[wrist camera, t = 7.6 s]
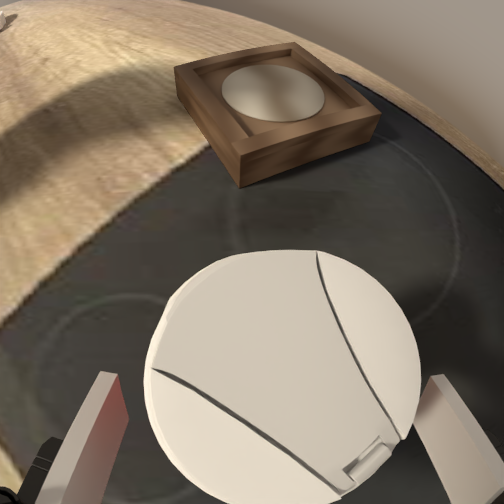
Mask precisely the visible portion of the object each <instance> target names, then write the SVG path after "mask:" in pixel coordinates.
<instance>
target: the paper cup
mask: <svg viewBox="0 0 504 504" xmlns="http://www.w3.org/2000/svg"><path fill="white" fill-rule="evenodd" d="M420 387H421V368H420V359H419V353H418V348H417V344H416V341H415V338H414V335H413V332H412V329H411V327H410V324H409V323H408V321H407V319H406V317H405V315H404V313H403V311H402V310H401V308H400V307H399V305H398V304H397V303H396V301H395V300H394V299H393V297H392V296H391V295H390V293H389V292H388V291H387V290H386V289H385V288H384V287H383V286H382V285H381V284H380V283H379V282H378V281H377V280H375V279H374V278H373V277H371V276H370V275H369V274H367V273H366V272H365V271H363V270H362V269H361V268H359V267H357V266H355V265H353V264H351V263H350V262H348V261H346V260H344V259H341V258H339V257H336V256H333V255H331V254H328V253H325V252H320V251H316V250H315V251H308V250H273V251H264V252H261V251H260V252H253V253H245V254H239V255H234V256H230V257H227V258H225V259H222V260H219V261H217V262H215V263H213V264H211V265H209V266H208V267H206V268H204V269H202V270H200V271H199V272H198V273H196V274H195V275H194V276H193V277H191V278H190V279H189V280H187V281H186V282H185V283H184V284H183V285H182V286H181V287H180V288H179V289H178V290H177V291H176V292H175V293H174V294H173V295H172V296H171V298H170V299H169V301H168V303H167V306H166V308H165V310H164V313H163V315H162V317H161V320H160V322H159V324H158V326H157V328H156V330H155V332H154V335H153V337H152V339H151V343H150V346H149V350H148V353H147V357H146V363H145V373H144V393H145V404H146V408H147V412H148V416H149V420H150V424H151V426H152V429H153V431H154V433H155V435H156V438H157V440H158V442H159V444H160V446H161V447H162V449H163V450H164V452H165V453H166V455H167V456H168V458H169V459H170V461H171V462H172V463H173V464H174V465H175V467H176V468H177V469H178V470H179V471H180V472H181V473H182V474H183V475H184V476H185V477H186V478H187V479H188V480H190V481H191V482H192V483H194V484H195V485H196V486H198V487H199V488H200V489H202V490H203V491H205V492H206V493H208V494H210V495H212V496H214V497H216V498H218V499H220V500H222V501H224V502H226V503H229V504H329V503H332V502H334V501H337V500H339V499H342V498H341V496H343V495H345V494H346V493H348V492H350V491H352V490H353V489H355V488H356V487H358V486H359V485H360V484H361V483H363V482H364V481H365V480H366V479H368V478H369V477H370V476H371V475H372V474H373V473H374V472H375V471H376V470H377V469H378V468H379V467H380V466H381V465H382V464H383V463H384V462H385V461H386V460H387V459H388V458H389V457H390V456H391V455H392V453H391V452H392V451H393V449H394V448H395V446H396V445H397V444H398V443H399V442H400V440H403V439H406V437H407V435H408V432H409V430H410V428H411V426H412V423H413V421H414V418H415V414H416V410H417V407H418V403H419V396H420Z"/></svg>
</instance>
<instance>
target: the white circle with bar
mask: <svg viewBox="0 0 504 504" xmlns="http://www.w3.org/2000/svg"><path fill="white" fill-rule="evenodd" d="M5 23H6V19H5V16H4V13H3V11H0V29H2V28H3V26H4V25H5Z"/></svg>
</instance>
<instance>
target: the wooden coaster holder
mask: <svg viewBox="0 0 504 504" xmlns="http://www.w3.org/2000/svg"><path fill="white" fill-rule="evenodd" d="M174 73H175V82H176V90H177V96H178V98H179V99H180V101H181V102H182V104H183V105H184V107H185V108H186V110H187V111H188V113H189V114H190V115H191V117H192V118H193V120H194V121H195V123H196V124H197V126H198V127H199V129H200V130H201V132H202V133H203V135H204V136H205V138H206V139H207V141H208V142H209V144H210V145H211V147H212V148H213V150H214V151H215V153H216V154H217V156H218V157H219V159H220V160H221V162H222V163H223V165H224V166H225V168H226V169H227V171H228V172H229V174H230V175H231V177H232V178H233V180H234V181H235V183H236V184H237V186H238V187H239V188H242V187H244V186H247V185H249V184H252V183H255V182H257V181H260V180H262V179H265V178H268V177H270V176H273V175H275V174H278V173H281V172H283V171H286V170H289V169H292V168H294V167H297V166H300V165H302V164H305V163H308V162H311V161H314V160H316V159H319V158H322V157H325V156H328V155H331V154H334V153H336V152H339V151H342V150H345V149H348V148H351V147H354V146H357V145H360V144H363V143H366V142H369V141H370V139H371V137H372V134H373V132H374V130H375V128H376V125H377V123H378V121H379V119H380V116H381V114H382V113H381V112H380V111H379V110H378V109H377V108H376V107H374V106H373V105H372V104H371V103H370V102H369V101H368V100H367V99H366V98H365V97H363V96H362V95H361V94H360V93H359V92H358V91H357V90H355V89H354V88H353V87H352V86H351V85H350V84H348V83H347V82H346V81H345V80H344V79H342V78H341V77H340V76H339V75H338V74H336V73H335V72H334V71H333V70H331V69H330V68H329V67H328V66H326V65H325V64H324V63H322V62H321V61H320V60H319V59H317V58H316V57H315V56H313V55H312V54H311V53H309V52H308V51H307V50H305V49H304V48H302V47H301V46H300V45H298V44H297V43H295V42H291V43H283V44H276V45H270V46H264V47H258V48H252V49H247V50H241V51H236V52H231V53H227V54H222V55H218V56H213V57H209V58H205V59H201V60H197V61H193V62H190V63H186V64H182V65H179V66H176V67H174Z"/></svg>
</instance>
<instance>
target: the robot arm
mask: <svg viewBox="0 0 504 504" xmlns="http://www.w3.org/2000/svg"><path fill="white" fill-rule="evenodd" d="M128 421H129V417H128V413H127V410H126V406H125V402H124V398H123V395H122V391H121V387H120V383H119V378H118V374H114V373H108V372H102V371H100V373H99V375H98V377H97V378H96V380H95V382H94V384H93V386H92V388H91V389H90V391H89V393H88V395H87V397H86V399H85V401H84V402H83V404H82V406H81V408H80V410H79V412H78V414H77V416H76V418H75V420H74V422H73V424H72V425H71V427H70V429H69V431H68V433H67V435H66V437H65V439H64V440H61V439H57V438H54V437H51V438H50V439H48V440H47V441H46V442H45V443H44V444H42V446H41V448H40V450H39V452H38V454H37V457H35V459H34V461H33V463H32V466H31V467H30V469H29V471H28V473H27V475H26V477H25V479H24V481H23V483H22V485H21V487H20V489H19V492H18V494H17V495H16V494H15V493H14V492H13V491H12V490H11V489H9V488H6V487H0V504H101V501H102V498H103V495H104V492H105V488H106V485H107V482H108V479H109V476H110V473H111V470H112V467H113V464H114V461H115V458H116V455H117V452H118V449H119V446H120V444H121V441H122V438H123V435H124V432H125V429H126V427H127V424H128ZM413 424H414V426H415V428H416V430H417V432H418V434H419V436H420V438H421V440H422V442H423V444H424V446H425V448H426V450H427V452H428V454H429V456H430V458H431V460H432V462H433V464H434V467H435V469H436V471H437V473H438V475H439V477H440V479H441V481H442V483H443V486H444V488H445V490H446V492H447V494H448V496H449V499H450V501H451V503H452V504H504V447H503V446H501V445H502V444H501V443H500V441H499V440H498V438H497V437H496V436H495V435H494V434H493V433H491V432H490V431H489V430H485V431H483V430H482V428H481V427H480V425H479V424H478V422H477V421H476V419H475V418H474V416H473V415H472V413H471V412H470V410H469V409H468V408H467V406H466V405H465V403H464V402H463V400H462V399H461V398H460V396H459V395H458V393H457V392H456V391H455V389H454V388H453V386H452V385H451V384H450V382H449V381H448V380H447V378H446V377H445V376H444V374H441V375H434V376H430V378H429V381H428V383H427V385H426V387H425V389H424V392H423V394H422V396H421V398H420V400H419V403H418V407H417V410H416V414H415V418H414V421H413Z"/></svg>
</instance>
